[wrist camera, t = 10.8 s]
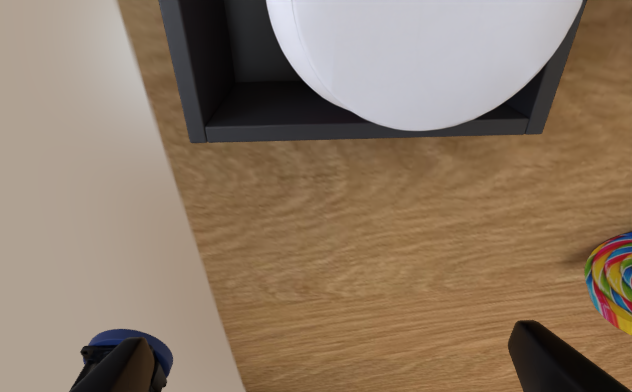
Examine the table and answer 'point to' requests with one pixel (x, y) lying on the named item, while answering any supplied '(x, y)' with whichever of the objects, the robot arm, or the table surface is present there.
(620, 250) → the lollipop
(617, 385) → the robot arm
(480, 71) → the pill bottle
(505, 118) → the bin
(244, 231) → the table surface
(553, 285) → the table surface
